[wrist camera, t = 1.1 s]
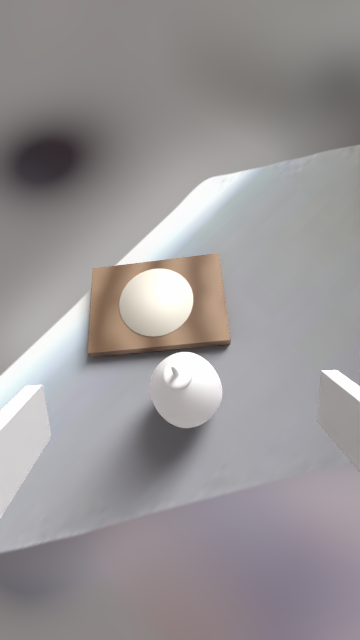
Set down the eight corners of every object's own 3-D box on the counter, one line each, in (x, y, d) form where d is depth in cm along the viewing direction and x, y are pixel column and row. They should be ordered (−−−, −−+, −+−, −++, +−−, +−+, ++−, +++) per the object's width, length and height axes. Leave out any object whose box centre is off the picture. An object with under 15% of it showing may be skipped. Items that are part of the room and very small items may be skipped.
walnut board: (218, 260, 47) (218, 252, 45) (230, 344, 42) (230, 339, 40) (97, 275, 49) (92, 268, 47) (92, 357, 43) (87, 353, 41)
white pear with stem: (184, 442, 37) (158, 442, 21) (151, 392, 40) (105, 356, 24) (233, 405, 39) (244, 376, 22) (197, 358, 41) (183, 302, 25)
